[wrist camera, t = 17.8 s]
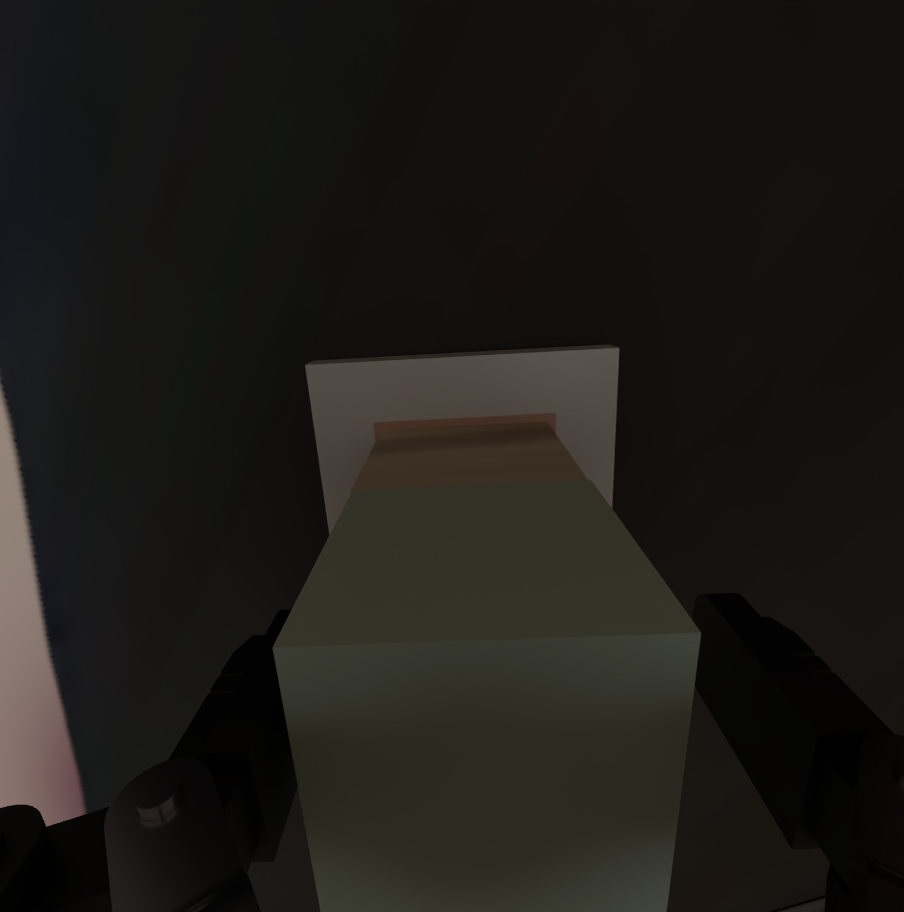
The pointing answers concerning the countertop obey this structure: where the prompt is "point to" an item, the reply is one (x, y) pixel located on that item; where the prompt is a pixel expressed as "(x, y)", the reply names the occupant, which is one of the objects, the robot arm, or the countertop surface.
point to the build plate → (463, 404)
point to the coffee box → (808, 907)
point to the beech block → (467, 457)
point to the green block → (487, 704)
